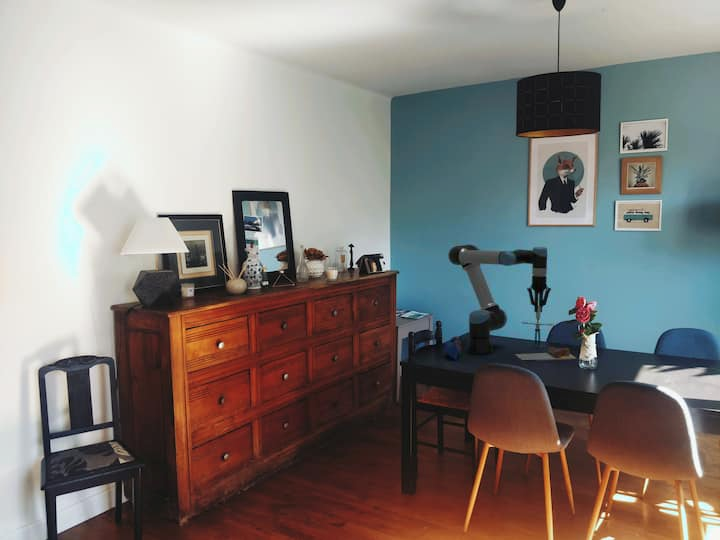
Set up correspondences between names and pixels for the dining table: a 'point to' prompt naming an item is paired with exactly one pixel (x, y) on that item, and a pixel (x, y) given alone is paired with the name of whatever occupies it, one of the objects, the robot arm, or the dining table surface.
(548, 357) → the mat
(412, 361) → the dining table surface
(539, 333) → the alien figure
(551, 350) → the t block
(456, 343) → the toy
